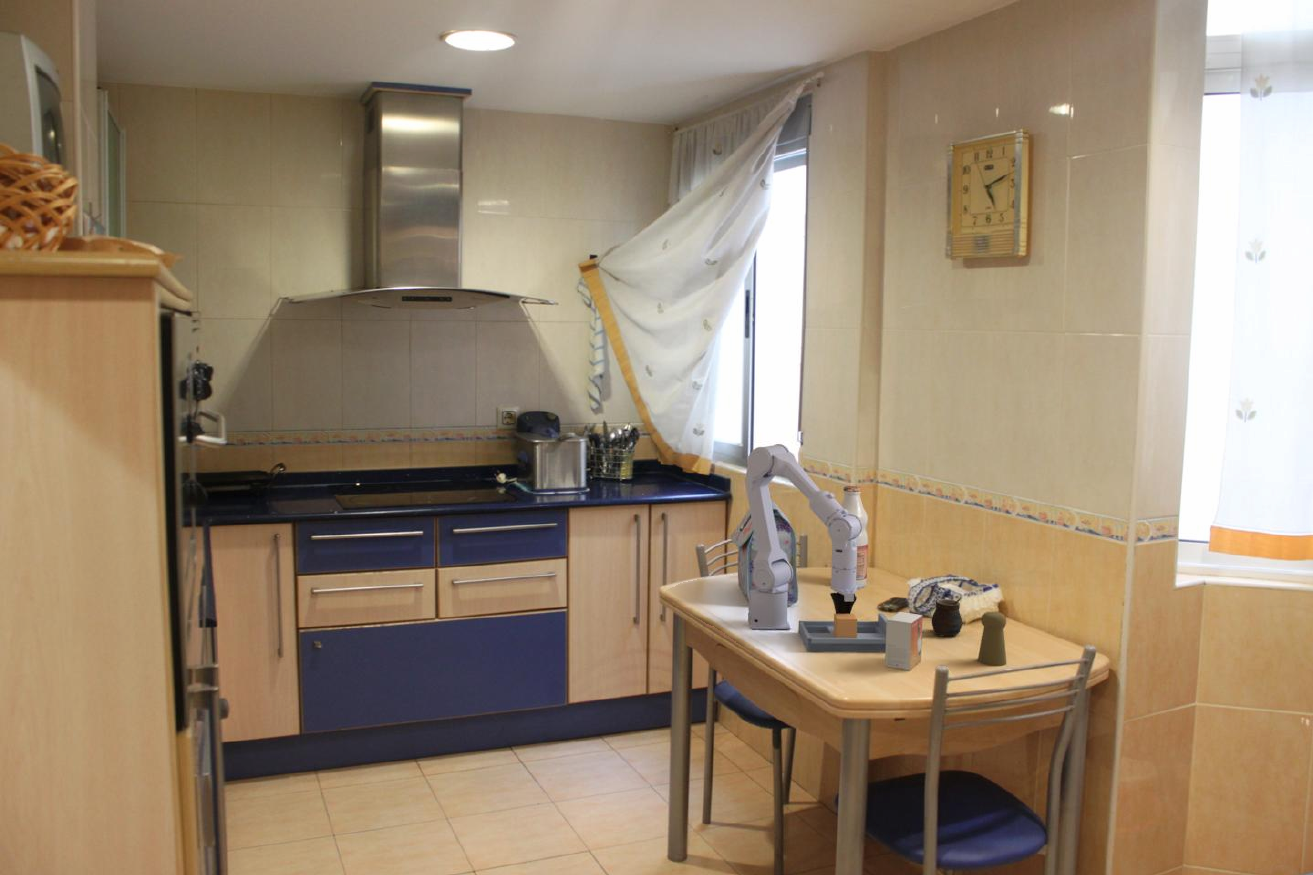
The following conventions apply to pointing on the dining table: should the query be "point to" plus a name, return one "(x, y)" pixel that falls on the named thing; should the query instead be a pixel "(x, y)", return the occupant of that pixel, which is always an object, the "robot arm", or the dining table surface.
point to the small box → (903, 640)
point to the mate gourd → (947, 618)
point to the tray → (824, 640)
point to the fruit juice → (855, 507)
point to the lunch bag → (748, 551)
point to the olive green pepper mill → (993, 640)
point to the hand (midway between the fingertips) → (842, 624)
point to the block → (845, 626)
